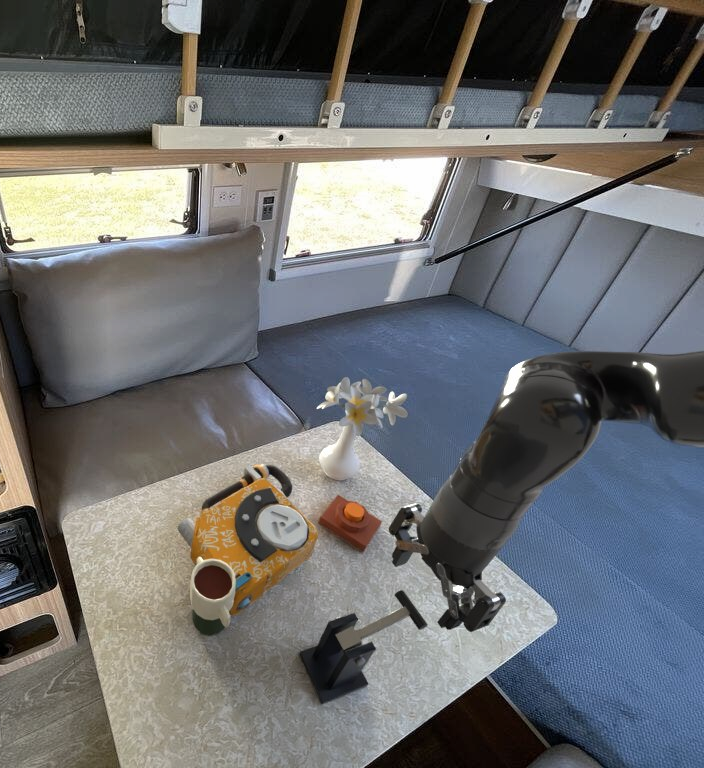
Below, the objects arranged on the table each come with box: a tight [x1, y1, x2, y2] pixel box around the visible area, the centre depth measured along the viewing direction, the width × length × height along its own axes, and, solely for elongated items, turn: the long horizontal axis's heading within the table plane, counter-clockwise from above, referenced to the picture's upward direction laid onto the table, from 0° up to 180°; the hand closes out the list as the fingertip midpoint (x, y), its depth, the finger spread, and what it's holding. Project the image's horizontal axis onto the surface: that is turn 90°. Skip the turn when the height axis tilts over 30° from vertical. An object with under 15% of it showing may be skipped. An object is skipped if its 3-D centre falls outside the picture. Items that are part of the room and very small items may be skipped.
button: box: [344, 502, 364, 522], centre depth 83 cm, size 4×4×2 cm
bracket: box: [298, 612, 377, 705], centre depth 60 cm, size 8×7×13 cm
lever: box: [335, 589, 429, 652], centre depth 58 cm, size 12×5×2 cm, turn 107°
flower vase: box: [316, 376, 409, 482], centre depth 91 cm, size 13×18×25 cm
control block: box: [318, 494, 383, 553], centre depth 84 cm, size 10×8×4 cm
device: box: [176, 463, 319, 616], centre depth 80 cm, size 23×8×30 cm
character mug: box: [189, 557, 236, 637], centre depth 66 cm, size 11×7×13 cm, turn 24°
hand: (420, 591), depth 55 cm, fingers open, 8 cm apart
